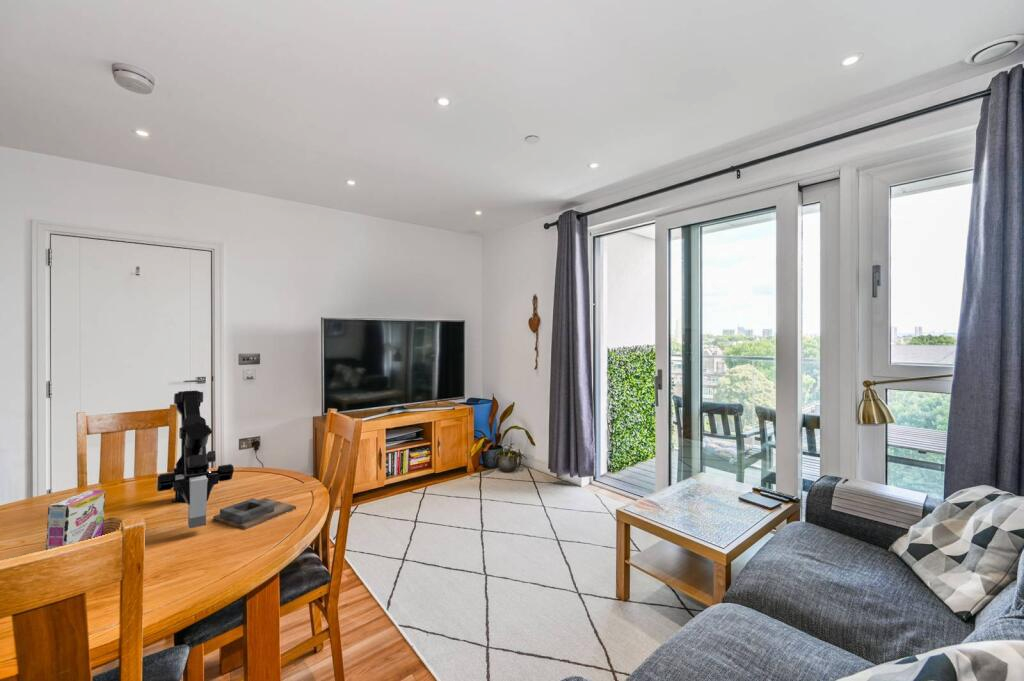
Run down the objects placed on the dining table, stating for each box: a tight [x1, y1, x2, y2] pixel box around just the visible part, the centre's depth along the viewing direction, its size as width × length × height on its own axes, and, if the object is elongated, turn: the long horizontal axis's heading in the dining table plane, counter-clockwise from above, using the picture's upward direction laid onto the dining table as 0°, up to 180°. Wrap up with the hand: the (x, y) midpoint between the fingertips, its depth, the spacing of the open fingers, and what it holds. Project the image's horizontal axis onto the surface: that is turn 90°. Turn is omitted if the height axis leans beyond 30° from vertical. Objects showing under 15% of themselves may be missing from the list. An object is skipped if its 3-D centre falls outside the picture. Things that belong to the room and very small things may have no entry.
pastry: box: [103, 516, 123, 535], centre depth 126 cm, size 9×7×4 cm
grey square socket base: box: [212, 497, 297, 530], centre depth 143 cm, size 16×18×4 cm
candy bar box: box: [45, 490, 106, 551], centre depth 112 cm, size 11×5×16 cm, turn 5°
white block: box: [187, 475, 208, 529], centre depth 128 cm, size 4×4×14 cm
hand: (198, 502), depth 127 cm, fingers closed on white block, 4 cm apart
